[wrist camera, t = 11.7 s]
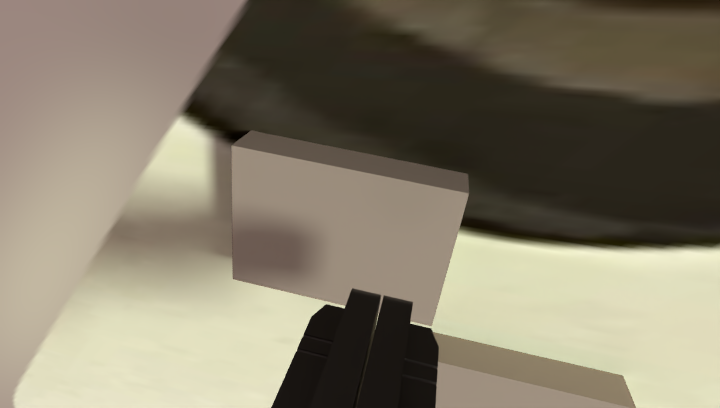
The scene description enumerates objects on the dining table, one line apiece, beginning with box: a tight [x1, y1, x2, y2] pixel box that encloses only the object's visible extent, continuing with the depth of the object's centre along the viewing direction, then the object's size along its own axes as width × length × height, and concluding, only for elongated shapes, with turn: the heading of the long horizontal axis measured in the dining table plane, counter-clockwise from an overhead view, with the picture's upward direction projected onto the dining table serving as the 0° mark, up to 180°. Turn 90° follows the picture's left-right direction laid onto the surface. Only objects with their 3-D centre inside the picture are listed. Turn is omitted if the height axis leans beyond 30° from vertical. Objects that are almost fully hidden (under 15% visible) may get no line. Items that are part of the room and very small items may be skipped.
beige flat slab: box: [231, 131, 469, 326], centre depth 15 cm, size 5×2×7 cm
